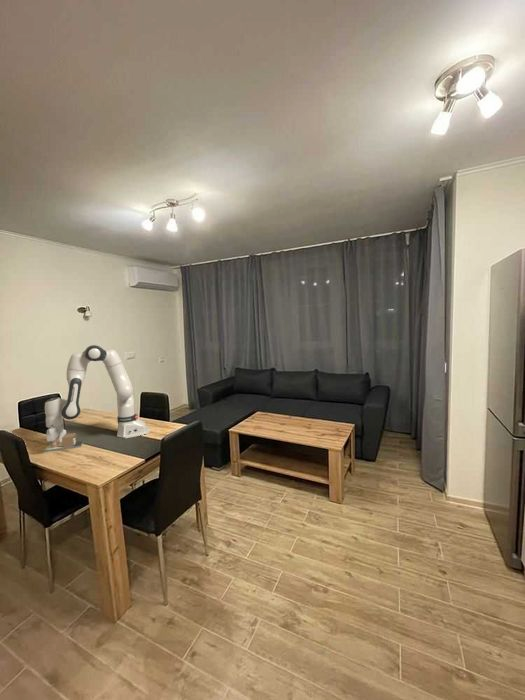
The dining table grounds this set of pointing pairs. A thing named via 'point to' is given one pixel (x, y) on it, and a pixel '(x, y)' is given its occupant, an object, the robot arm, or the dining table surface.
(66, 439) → the tunnel board
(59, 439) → the medicine bottle
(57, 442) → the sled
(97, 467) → the dining table surface
